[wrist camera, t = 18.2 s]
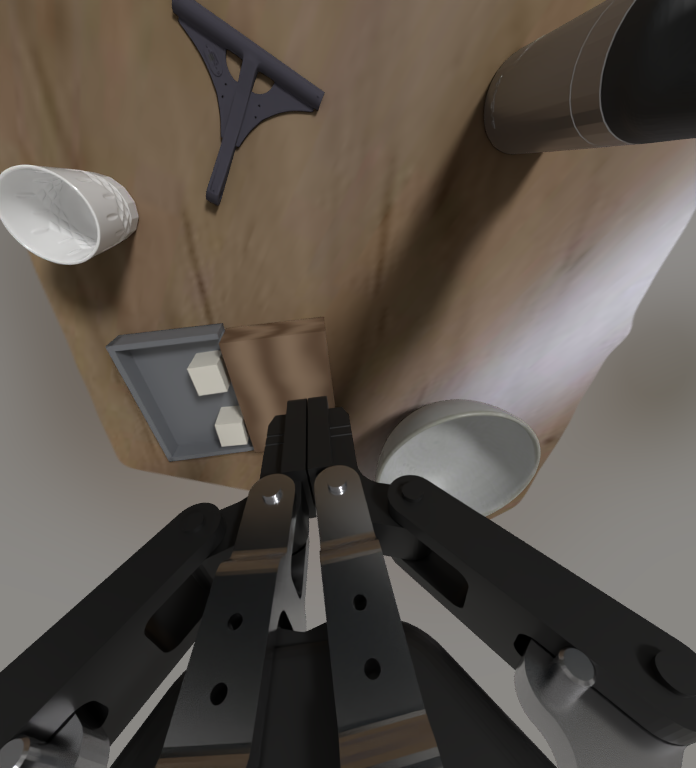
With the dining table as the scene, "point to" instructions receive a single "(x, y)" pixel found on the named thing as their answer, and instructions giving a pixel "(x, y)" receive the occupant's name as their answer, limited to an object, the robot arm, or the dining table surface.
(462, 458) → the decorative bowl
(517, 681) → the robot arm
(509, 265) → the dining table surface
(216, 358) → the cream cube
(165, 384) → the tray
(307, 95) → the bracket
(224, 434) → the off-white cube
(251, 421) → the walnut board
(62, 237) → the white cup
